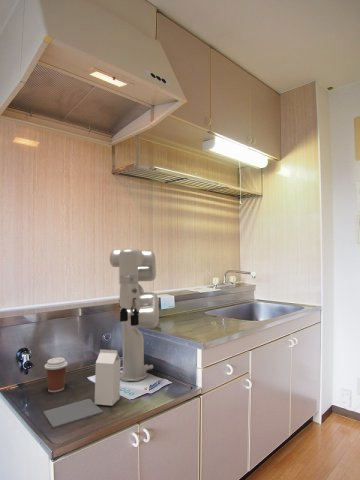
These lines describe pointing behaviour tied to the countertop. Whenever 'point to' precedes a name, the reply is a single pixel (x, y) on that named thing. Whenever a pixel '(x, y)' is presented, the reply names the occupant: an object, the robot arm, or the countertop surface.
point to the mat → (72, 412)
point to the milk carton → (107, 378)
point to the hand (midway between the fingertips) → (129, 323)
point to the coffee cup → (56, 374)
